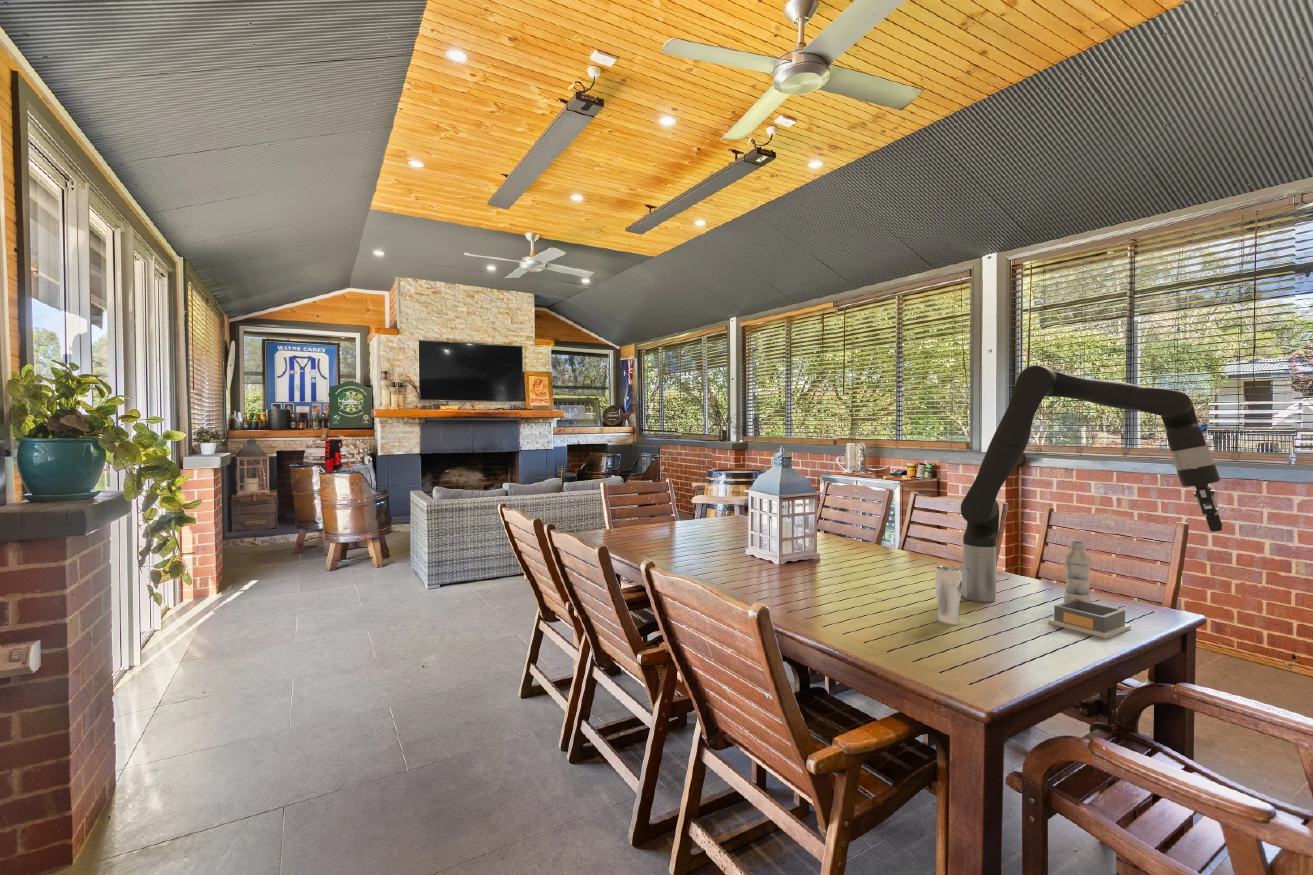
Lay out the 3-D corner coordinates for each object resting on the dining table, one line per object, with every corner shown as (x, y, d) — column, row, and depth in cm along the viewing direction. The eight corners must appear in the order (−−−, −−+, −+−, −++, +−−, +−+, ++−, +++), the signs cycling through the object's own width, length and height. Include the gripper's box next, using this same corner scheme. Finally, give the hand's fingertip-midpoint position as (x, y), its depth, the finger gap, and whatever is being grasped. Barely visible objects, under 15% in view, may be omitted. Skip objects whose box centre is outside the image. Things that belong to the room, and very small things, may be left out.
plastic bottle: (1095, 612, 175) (1096, 544, 175) (1069, 611, 177) (1070, 543, 176) (1084, 606, 182) (1085, 540, 181) (1059, 604, 183) (1060, 539, 182)
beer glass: (961, 619, 169) (962, 566, 169) (962, 627, 163) (963, 572, 163) (934, 616, 172) (934, 564, 172) (934, 623, 166) (934, 569, 165)
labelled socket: (1107, 638, 154) (1107, 619, 154) (1048, 623, 166) (1048, 605, 166) (1130, 628, 162) (1131, 610, 162) (1073, 614, 174) (1073, 597, 173)
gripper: (1177, 468, 160) (1198, 529, 157) (1174, 469, 150) (1196, 534, 147) (1215, 462, 155) (1237, 524, 152) (1213, 463, 145) (1237, 529, 142)
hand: (1216, 529), depth 150 cm, fingers open, 8 cm apart
